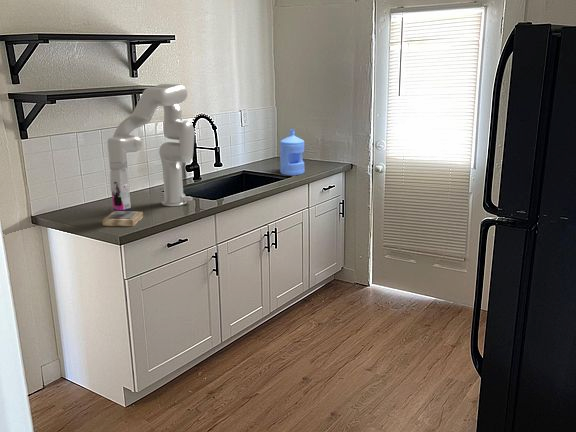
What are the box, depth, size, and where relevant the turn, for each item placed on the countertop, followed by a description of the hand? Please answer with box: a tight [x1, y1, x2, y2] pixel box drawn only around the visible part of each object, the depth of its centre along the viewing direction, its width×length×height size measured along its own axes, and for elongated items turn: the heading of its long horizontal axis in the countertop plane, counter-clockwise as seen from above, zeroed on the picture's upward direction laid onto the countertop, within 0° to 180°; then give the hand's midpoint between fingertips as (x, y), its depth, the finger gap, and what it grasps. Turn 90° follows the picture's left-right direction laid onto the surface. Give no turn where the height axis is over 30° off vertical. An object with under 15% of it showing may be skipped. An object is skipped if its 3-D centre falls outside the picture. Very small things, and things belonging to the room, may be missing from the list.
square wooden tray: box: [101, 210, 144, 227], centre depth 256 cm, size 14×14×3 cm
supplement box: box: [111, 184, 132, 212], centre depth 254 cm, size 6×6×12 cm
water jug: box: [279, 128, 306, 176], centre depth 355 cm, size 16×16×28 cm
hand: (121, 203), depth 254 cm, fingers closed on supplement box, 7 cm apart
